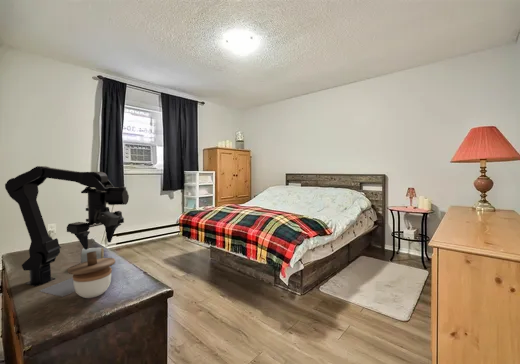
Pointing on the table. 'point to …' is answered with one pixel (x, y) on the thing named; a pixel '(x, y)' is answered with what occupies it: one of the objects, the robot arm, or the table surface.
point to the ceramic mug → (98, 251)
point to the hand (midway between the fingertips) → (98, 245)
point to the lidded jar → (92, 283)
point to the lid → (91, 264)
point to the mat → (60, 288)
